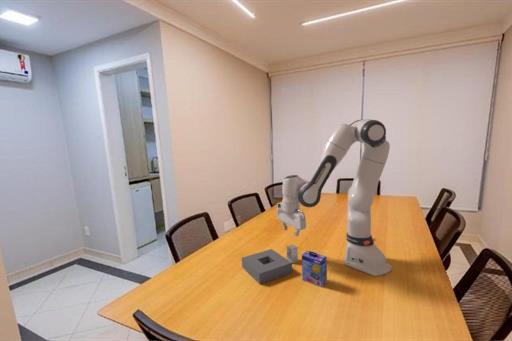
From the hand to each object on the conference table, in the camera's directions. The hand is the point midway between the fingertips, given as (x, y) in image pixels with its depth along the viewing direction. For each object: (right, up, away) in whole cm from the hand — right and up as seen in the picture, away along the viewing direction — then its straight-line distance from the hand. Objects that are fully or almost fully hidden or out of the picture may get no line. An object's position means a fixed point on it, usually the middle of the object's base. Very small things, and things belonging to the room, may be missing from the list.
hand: (290, 232), depth 128 cm
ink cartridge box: (+8, -18, -17) cm, 26 cm away
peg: (+1, -15, +2) cm, 16 cm away
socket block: (-13, -17, -6) cm, 22 cm away
